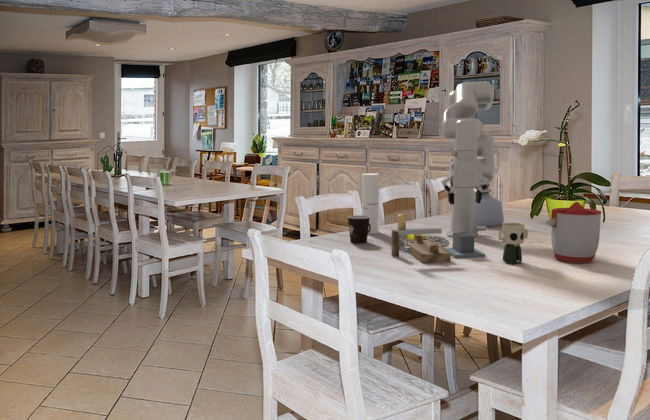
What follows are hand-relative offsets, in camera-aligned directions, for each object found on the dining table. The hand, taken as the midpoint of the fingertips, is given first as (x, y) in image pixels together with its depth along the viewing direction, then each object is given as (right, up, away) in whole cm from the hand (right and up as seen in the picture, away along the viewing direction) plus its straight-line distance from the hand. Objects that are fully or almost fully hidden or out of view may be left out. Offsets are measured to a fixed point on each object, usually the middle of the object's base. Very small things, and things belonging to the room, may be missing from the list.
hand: (464, 203), depth 218 cm
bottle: (+23, -9, +66) cm, 70 cm away
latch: (-18, -10, -10) cm, 23 cm away
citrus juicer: (+34, -20, -10) cm, 40 cm away
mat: (0, -18, +2) cm, 18 cm away
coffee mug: (-36, -15, +23) cm, 46 cm away
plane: (-17, -18, 0) cm, 25 cm away
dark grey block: (0, -17, +2) cm, 17 cm away
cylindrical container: (-30, -12, +46) cm, 56 cm away
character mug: (+13, -20, -12) cm, 27 cm away
